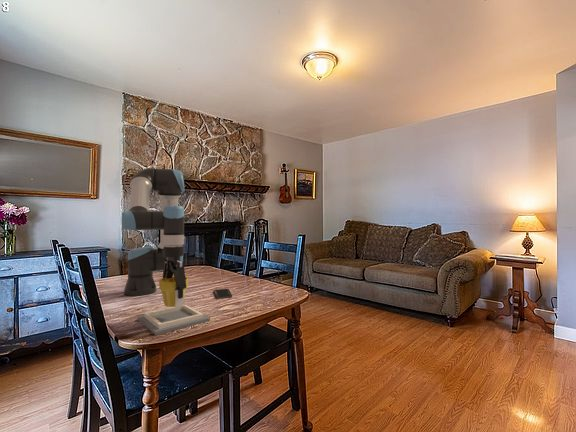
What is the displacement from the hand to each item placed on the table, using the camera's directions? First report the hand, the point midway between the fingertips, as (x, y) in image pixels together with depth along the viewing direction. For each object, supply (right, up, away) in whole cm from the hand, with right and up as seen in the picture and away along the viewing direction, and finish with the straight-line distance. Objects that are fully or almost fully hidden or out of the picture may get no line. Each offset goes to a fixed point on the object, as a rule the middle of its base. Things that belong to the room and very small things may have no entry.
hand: (173, 303), depth 113 cm
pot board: (0, -6, 0) cm, 6 cm away
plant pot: (0, -1, 0) cm, 1 cm away
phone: (+11, -7, +37) cm, 39 cm away
